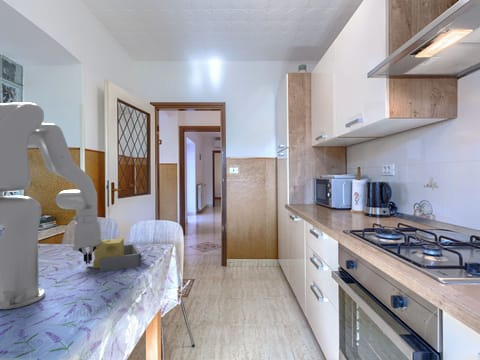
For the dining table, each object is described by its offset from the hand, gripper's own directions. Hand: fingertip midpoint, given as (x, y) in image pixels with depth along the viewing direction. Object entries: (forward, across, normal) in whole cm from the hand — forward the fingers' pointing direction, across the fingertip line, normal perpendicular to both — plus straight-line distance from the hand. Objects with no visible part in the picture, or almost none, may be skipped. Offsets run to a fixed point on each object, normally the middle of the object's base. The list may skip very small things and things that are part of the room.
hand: (87, 262), depth 114 cm
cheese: (+2, +8, -1) cm, 9 cm away
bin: (+2, +11, 0) cm, 12 cm away
